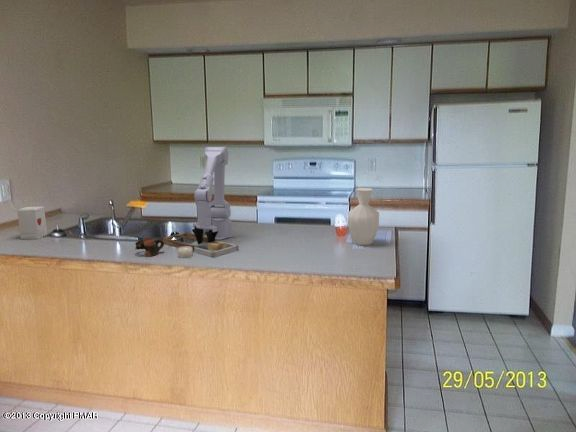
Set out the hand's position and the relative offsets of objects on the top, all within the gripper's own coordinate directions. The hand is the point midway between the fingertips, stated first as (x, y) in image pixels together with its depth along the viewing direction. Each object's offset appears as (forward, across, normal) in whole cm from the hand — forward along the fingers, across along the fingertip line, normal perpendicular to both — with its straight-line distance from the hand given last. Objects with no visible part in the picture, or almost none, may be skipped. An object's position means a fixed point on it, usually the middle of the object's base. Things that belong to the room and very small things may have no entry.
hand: (205, 245), depth 204 cm
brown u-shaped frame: (+1, -12, 0) cm, 12 cm away
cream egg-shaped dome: (+2, +2, -13) cm, 13 cm away
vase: (+2, +50, +51) cm, 72 cm away
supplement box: (+2, -84, -40) cm, 94 cm away
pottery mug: (+2, -12, -20) cm, 24 cm away
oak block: (+2, +8, 0) cm, 8 cm away
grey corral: (+1, +8, 0) cm, 8 cm away
